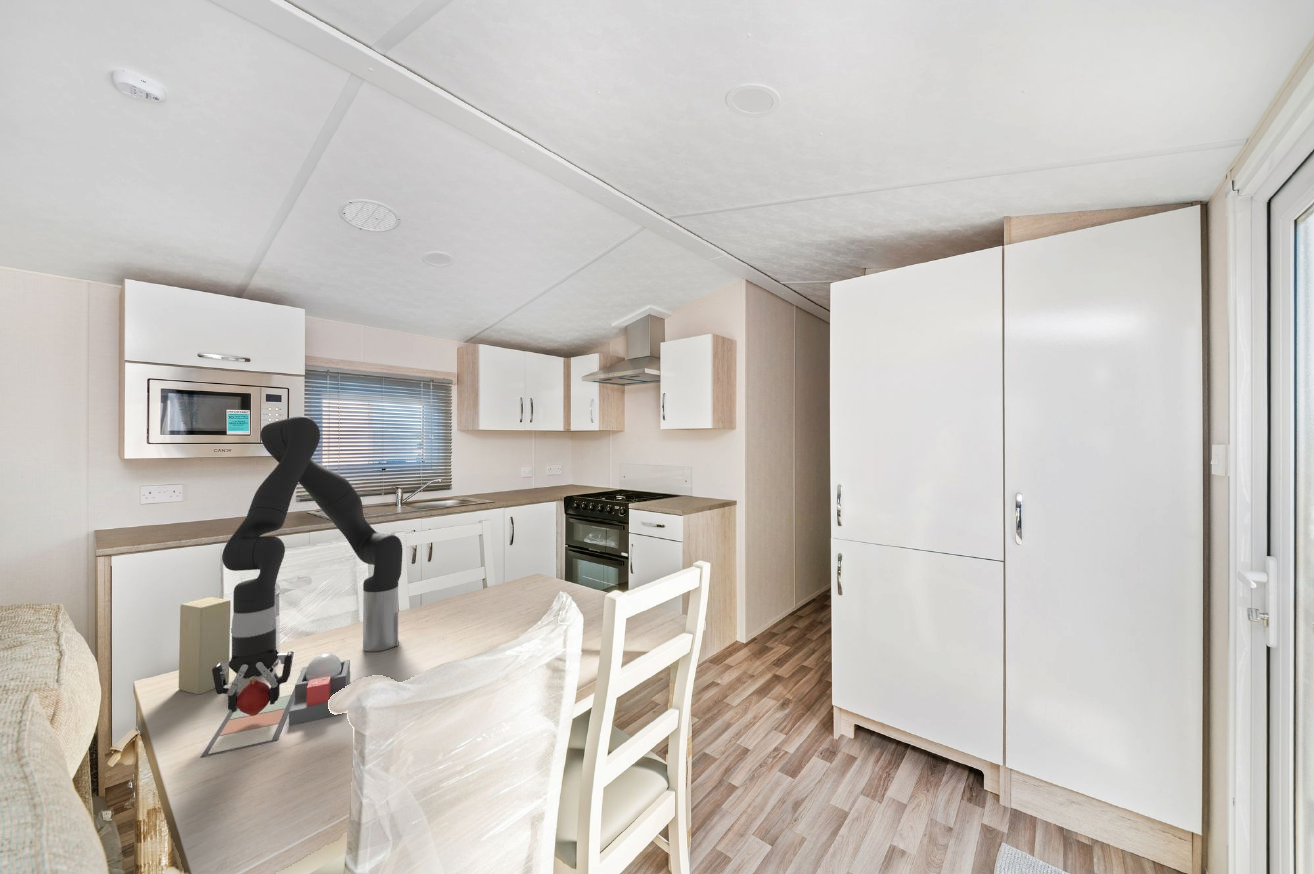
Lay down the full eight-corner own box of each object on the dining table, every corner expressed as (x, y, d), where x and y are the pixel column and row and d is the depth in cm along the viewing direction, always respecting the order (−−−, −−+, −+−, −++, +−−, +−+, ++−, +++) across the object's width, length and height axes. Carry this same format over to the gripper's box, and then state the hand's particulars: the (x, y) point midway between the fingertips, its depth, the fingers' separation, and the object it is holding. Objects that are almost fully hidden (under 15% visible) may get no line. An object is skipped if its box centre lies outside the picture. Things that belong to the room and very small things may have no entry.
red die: (330, 693, 115) (330, 675, 115) (328, 701, 112) (328, 683, 112) (309, 697, 113) (309, 679, 114) (306, 705, 110) (306, 687, 110)
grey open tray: (350, 683, 126) (350, 659, 126) (343, 713, 112) (343, 686, 112) (302, 692, 122) (302, 667, 122) (288, 725, 108) (289, 697, 108)
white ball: (342, 674, 124) (342, 646, 125) (339, 686, 118) (339, 657, 118) (308, 680, 121) (308, 651, 121) (303, 693, 115) (303, 663, 115)
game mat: (301, 683, 126) (301, 682, 126) (277, 740, 102) (277, 738, 102) (240, 694, 121) (241, 692, 121) (200, 756, 97) (200, 755, 97)
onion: (249, 708, 111) (250, 672, 111) (277, 707, 112) (277, 671, 112) (229, 723, 106) (230, 685, 106) (259, 721, 106) (259, 684, 106)
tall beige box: (233, 681, 127) (233, 598, 128) (199, 695, 121) (199, 607, 121) (212, 676, 130) (213, 595, 130) (178, 689, 123) (178, 604, 123)
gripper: (297, 618, 115) (297, 691, 115) (217, 628, 109) (217, 706, 109) (291, 629, 109) (291, 706, 109) (205, 641, 102) (205, 723, 102)
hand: (254, 706), depth 109 cm, fingers open, 6 cm apart
